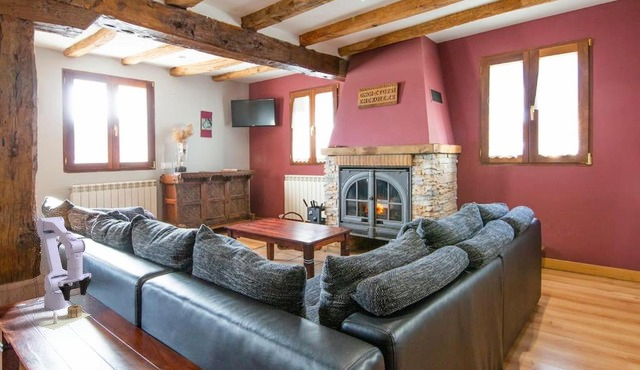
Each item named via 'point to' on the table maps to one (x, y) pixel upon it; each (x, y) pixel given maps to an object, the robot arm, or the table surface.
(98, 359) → the table surface
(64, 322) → the board
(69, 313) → the bead
